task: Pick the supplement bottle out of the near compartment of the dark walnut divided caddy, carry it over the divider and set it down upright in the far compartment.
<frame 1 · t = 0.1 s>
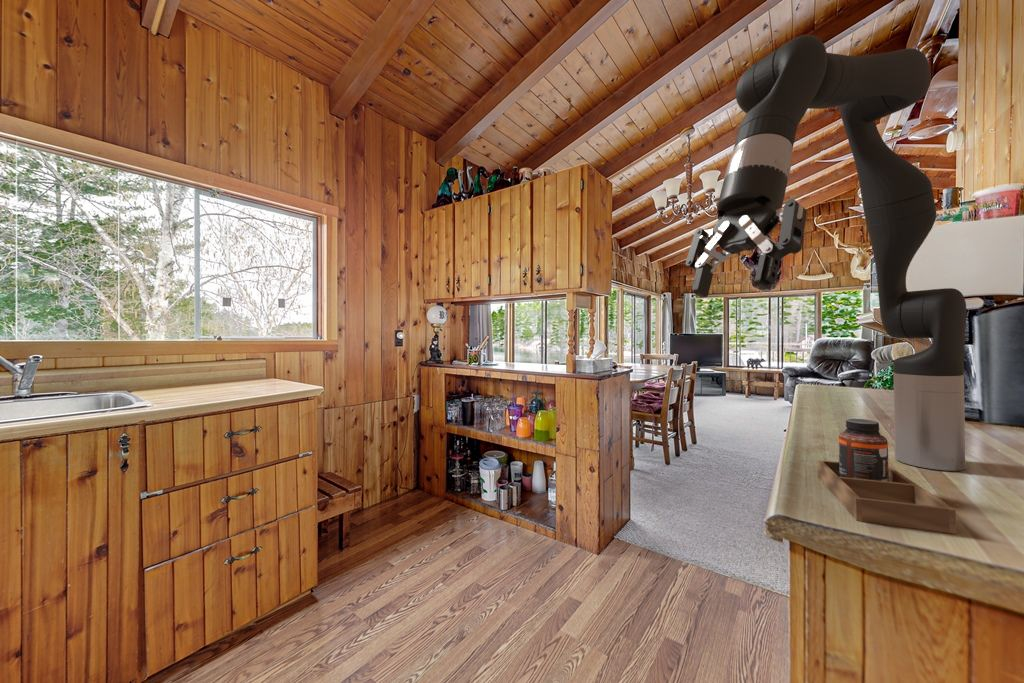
hand: (728, 291, 50), 31 cm above the counter, tool tilted 20°, fingers open, 8 cm apart
caddy: (875, 500, 59), on the counter
supplement bottle: (863, 491, 63), resting in caddy
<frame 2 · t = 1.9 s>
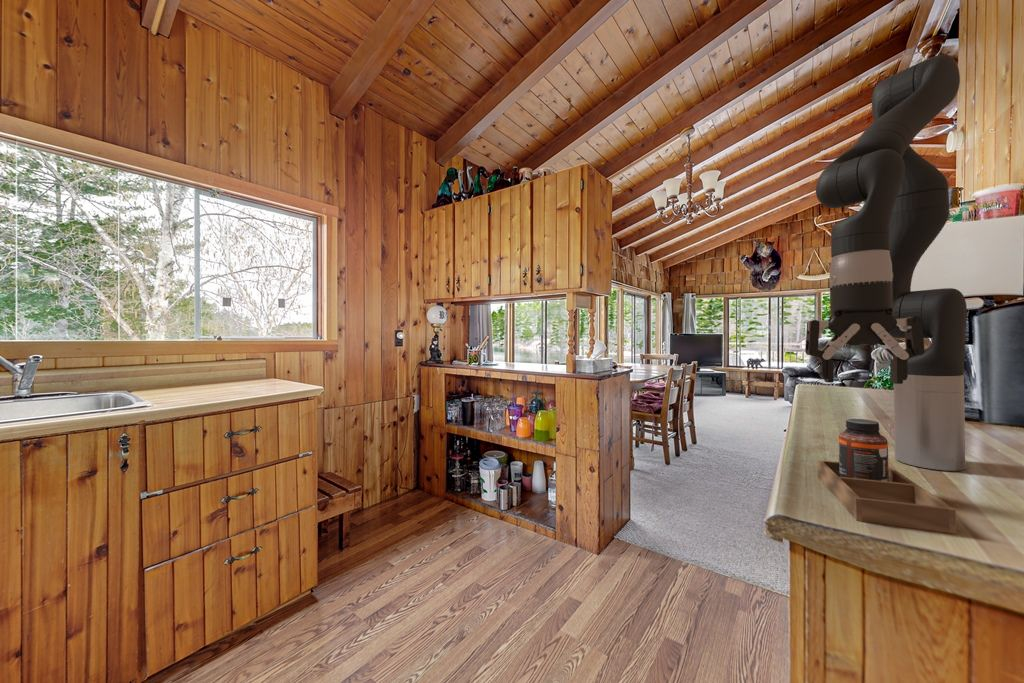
hand: (861, 382, 63), 17 cm above the counter, tool pointing down, fingers open, 8 cm apart
nothing on the counter moved.
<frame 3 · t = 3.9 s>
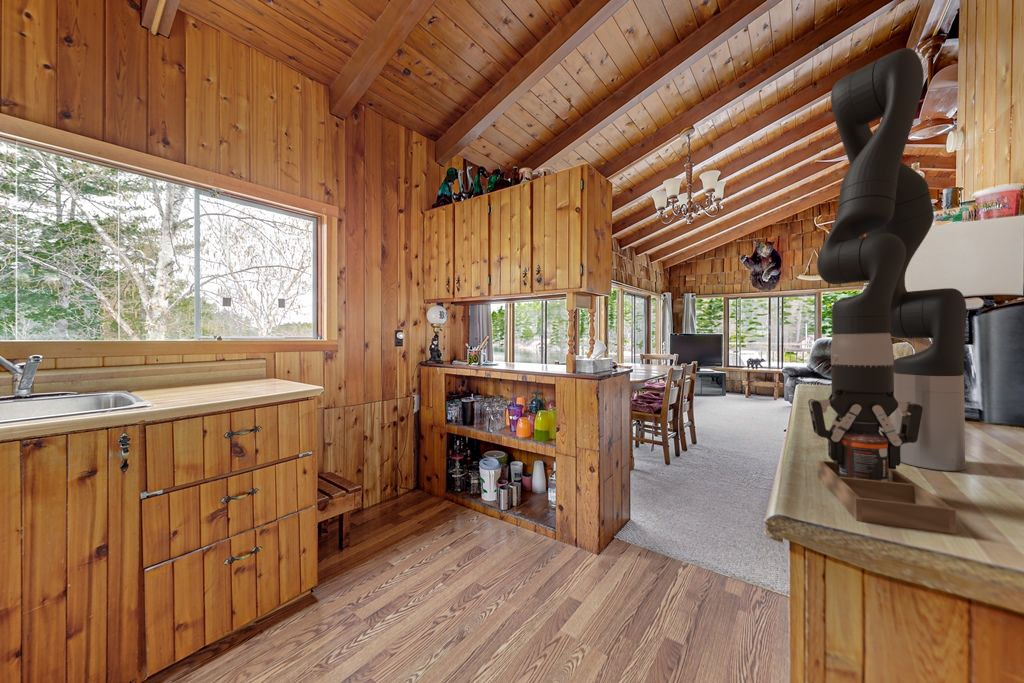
hand: (862, 465, 63), 4 cm above the counter, tool pointing down, fingers closed on supplement bottle, 6 cm apart
supplement bottle: (863, 491, 63), resting in caddy, touching gripper
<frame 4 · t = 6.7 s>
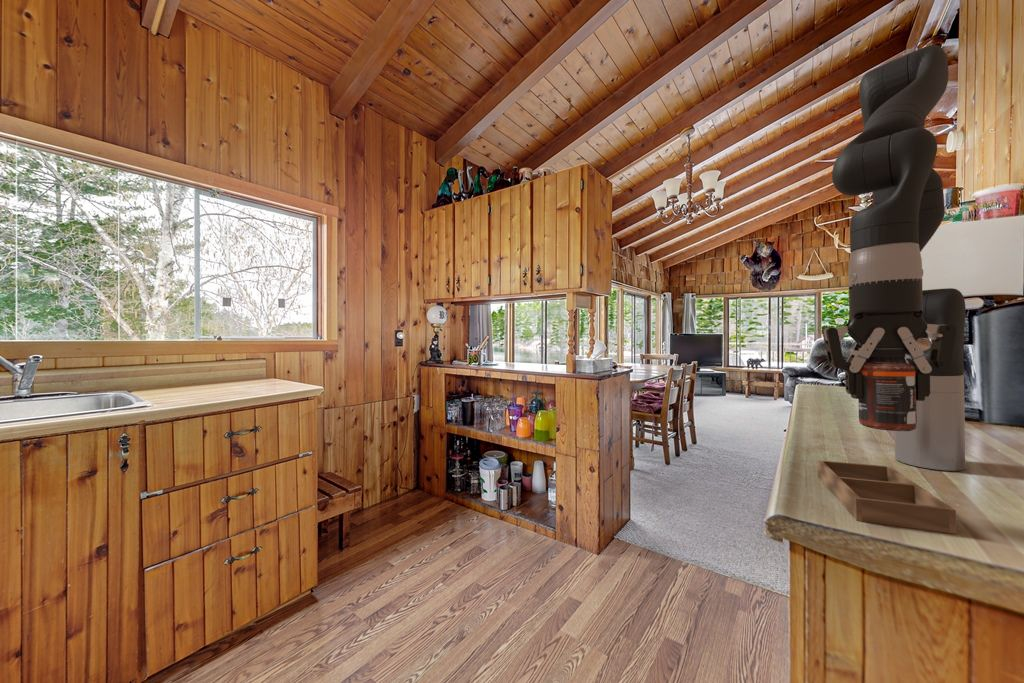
hand: (885, 398, 55), 16 cm above the counter, tool pointing down, fingers closed on supplement bottle, 6 cm apart
supplement bottle: (886, 429, 55), point 12 cm above the counter, touching gripper
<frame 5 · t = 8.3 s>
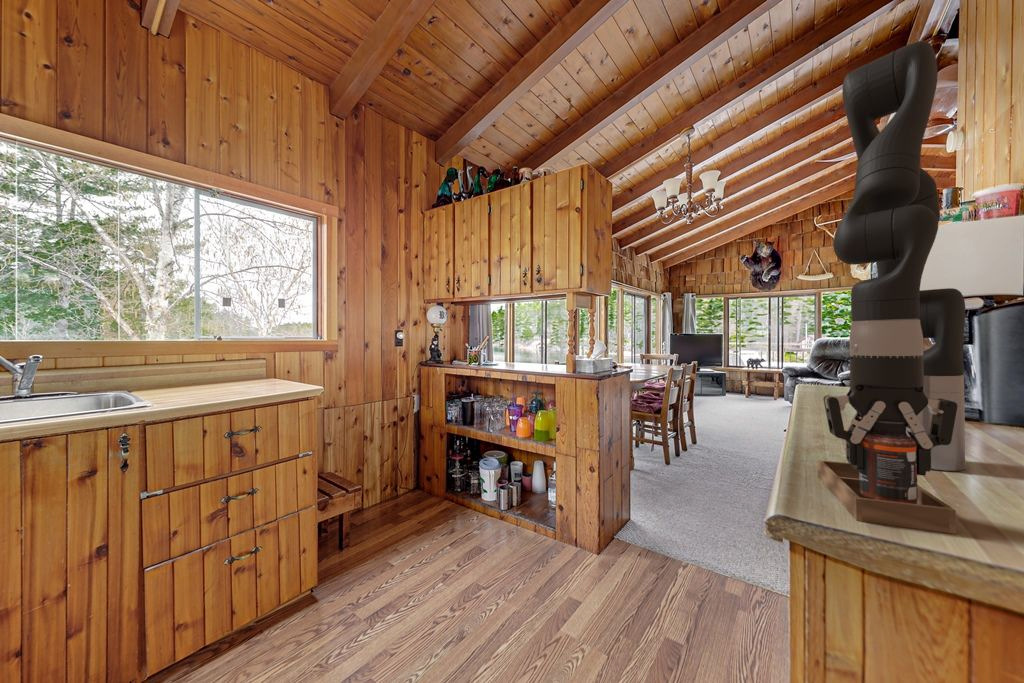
hand: (886, 470, 55), 6 cm above the counter, tool pointing down, fingers closed on supplement bottle, 6 cm apart
supplement bottle: (887, 500, 55), point 2 cm above the counter, touching gripper
when the fingers open (5 cm above the counter, at t = 9.5 s): supplement bottle stays where it is, resting in caddy.
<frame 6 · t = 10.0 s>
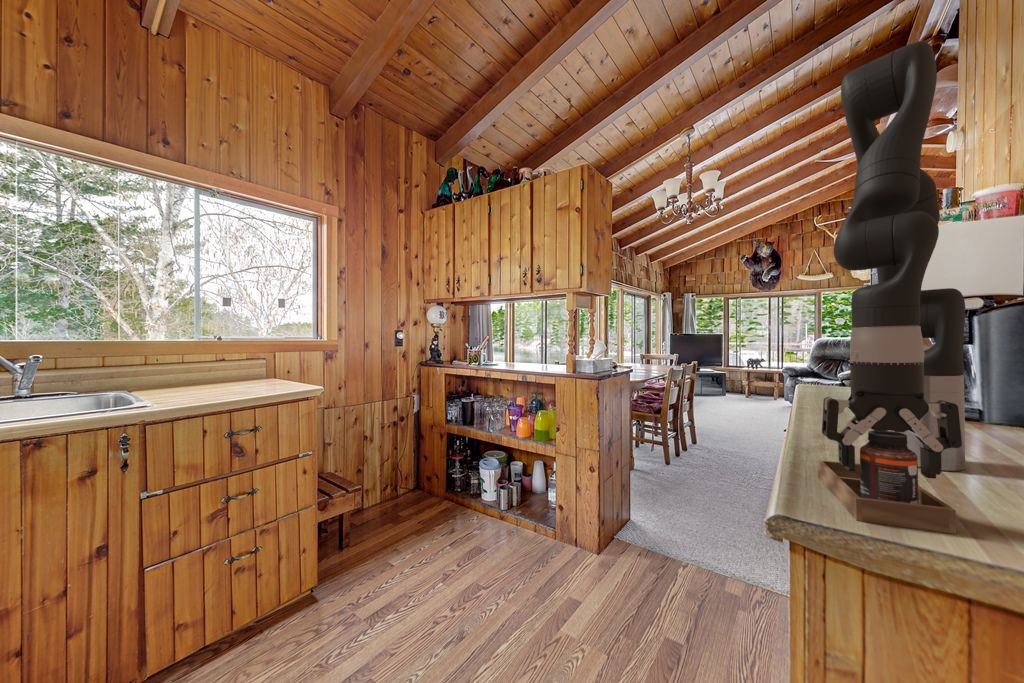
hand: (887, 473, 55), 6 cm above the counter, tool pointing down, fingers open, 8 cm apart
supplement bottle: (889, 513, 55), resting in caddy
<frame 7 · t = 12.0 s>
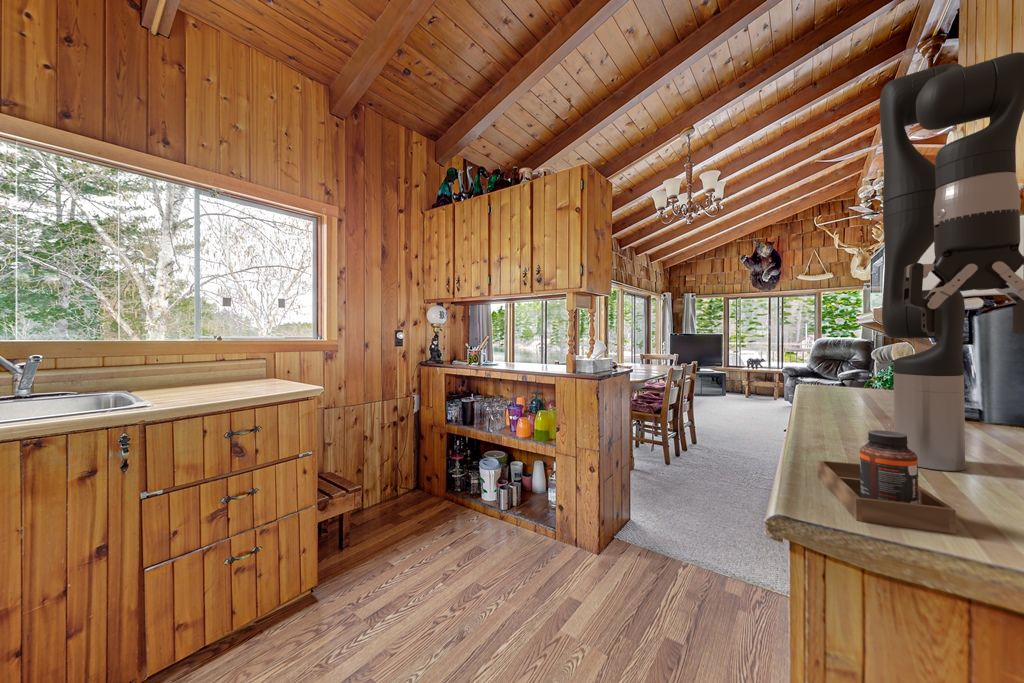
hand: (976, 334, 53), 25 cm above the counter, tool pointing down, fingers open, 8 cm apart
nothing on the counter moved.
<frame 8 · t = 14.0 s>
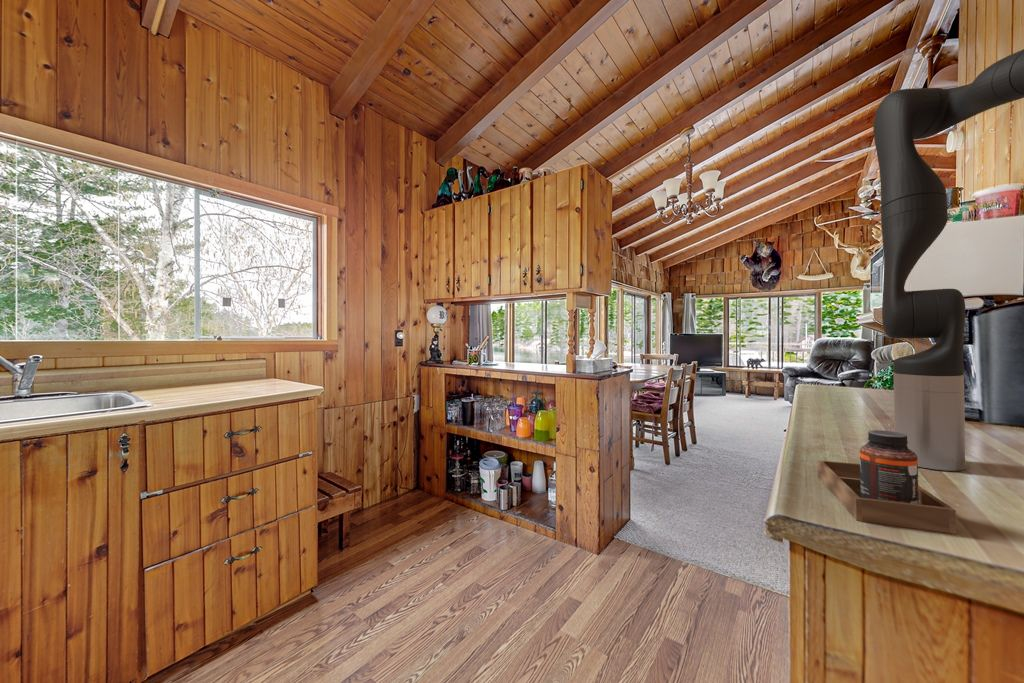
nothing on the counter moved.
at the end: supplement bottle inside the target area (0.1 cm from its centre), resting in caddy; supplement bottle tilted 0°; the gripper is holding nothing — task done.
